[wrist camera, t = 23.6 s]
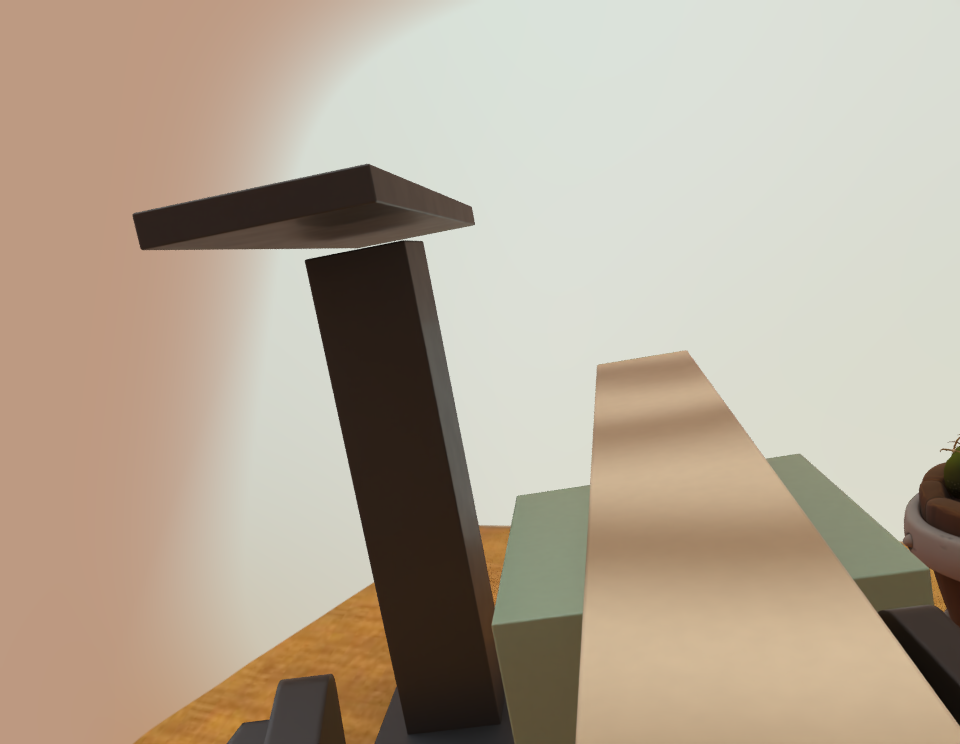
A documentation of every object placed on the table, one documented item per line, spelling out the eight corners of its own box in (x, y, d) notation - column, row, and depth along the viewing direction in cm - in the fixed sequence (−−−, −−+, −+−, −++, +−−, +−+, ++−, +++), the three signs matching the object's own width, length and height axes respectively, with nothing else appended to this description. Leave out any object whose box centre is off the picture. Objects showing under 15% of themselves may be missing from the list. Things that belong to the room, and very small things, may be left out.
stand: (525, 936, 35) (369, 163, 31) (311, 952, 37) (130, 213, 32) (545, 600, 69) (471, 206, 64) (433, 615, 70) (353, 230, 65)
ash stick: (1008, 1012, 8) (979, 746, 8) (617, 1019, 9) (571, 776, 8) (697, 415, 35) (687, 349, 35) (607, 428, 36) (596, 364, 36)
